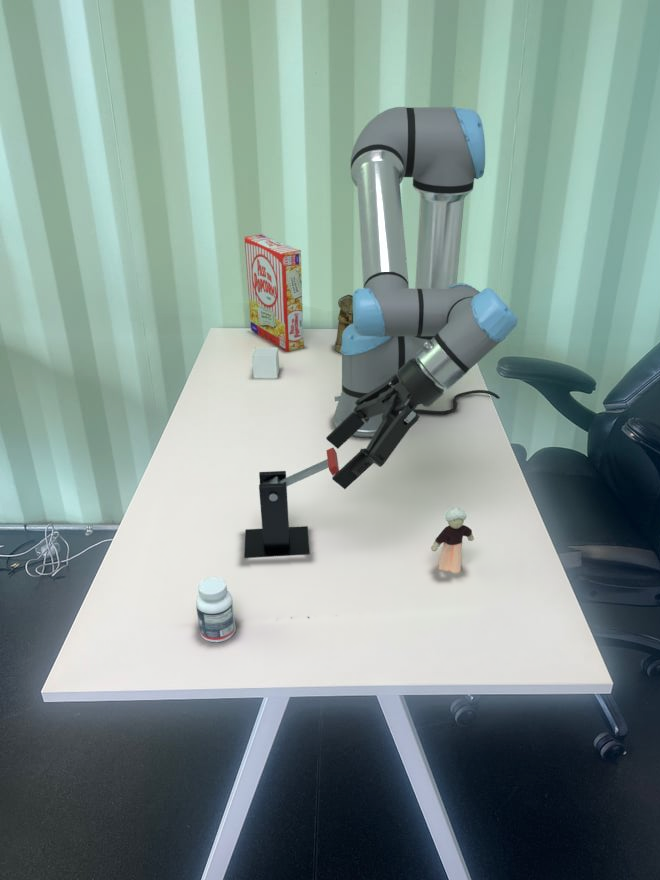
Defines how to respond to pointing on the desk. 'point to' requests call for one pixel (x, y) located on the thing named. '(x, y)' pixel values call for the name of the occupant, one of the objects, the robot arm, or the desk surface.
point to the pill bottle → (215, 610)
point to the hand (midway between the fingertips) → (334, 462)
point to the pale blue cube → (265, 362)
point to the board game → (275, 291)
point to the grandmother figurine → (452, 540)
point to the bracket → (275, 524)
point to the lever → (311, 470)
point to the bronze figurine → (344, 318)
